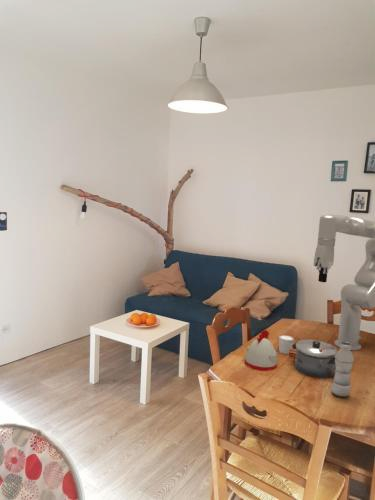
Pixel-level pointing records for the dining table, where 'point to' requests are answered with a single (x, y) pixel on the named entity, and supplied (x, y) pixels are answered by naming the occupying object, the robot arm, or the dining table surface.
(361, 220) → the robot arm
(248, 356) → the kitchen timer
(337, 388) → the plastic bottle
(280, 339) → the white cylinder
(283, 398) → the dining table surface
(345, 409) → the dining table surface
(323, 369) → the cooker pot
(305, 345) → the cooker lid
